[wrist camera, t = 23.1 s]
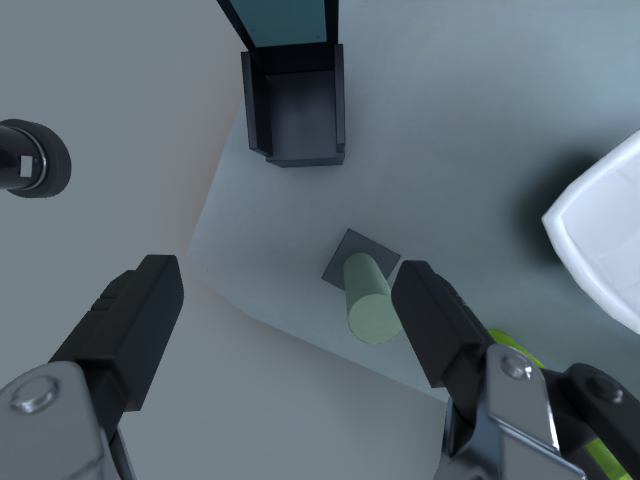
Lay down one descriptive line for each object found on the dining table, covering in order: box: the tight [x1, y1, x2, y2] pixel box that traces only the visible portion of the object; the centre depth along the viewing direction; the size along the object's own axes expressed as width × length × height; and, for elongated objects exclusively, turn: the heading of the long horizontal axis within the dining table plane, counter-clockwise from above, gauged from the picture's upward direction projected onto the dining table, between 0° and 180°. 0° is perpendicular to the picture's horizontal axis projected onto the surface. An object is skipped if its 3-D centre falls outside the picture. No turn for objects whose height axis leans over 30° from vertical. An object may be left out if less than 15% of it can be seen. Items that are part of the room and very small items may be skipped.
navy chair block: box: [217, 0, 345, 168], centre depth 24 cm, size 12×9×26 cm
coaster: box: [322, 229, 401, 291], centre depth 41 cm, size 9×9×1 cm
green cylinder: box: [343, 253, 402, 344], centre depth 32 cm, size 5×5×16 cm
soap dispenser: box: [488, 330, 633, 480], centre depth 32 cm, size 6×7×20 cm
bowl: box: [541, 128, 640, 335], centre depth 33 cm, size 22×23×8 cm
